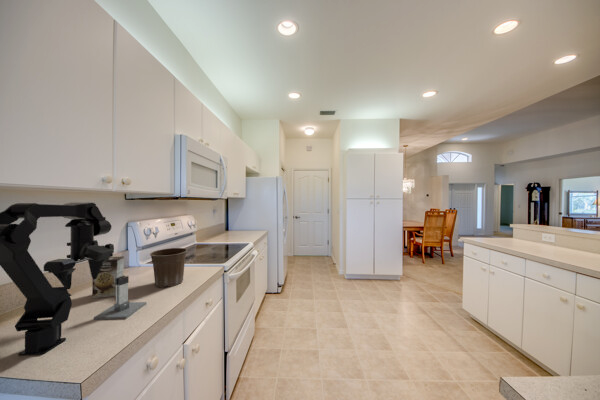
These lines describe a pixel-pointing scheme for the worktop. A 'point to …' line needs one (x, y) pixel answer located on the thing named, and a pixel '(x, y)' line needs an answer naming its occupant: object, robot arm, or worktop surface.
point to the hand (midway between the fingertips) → (82, 283)
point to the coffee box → (108, 277)
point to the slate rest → (124, 314)
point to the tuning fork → (121, 293)
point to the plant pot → (168, 266)
